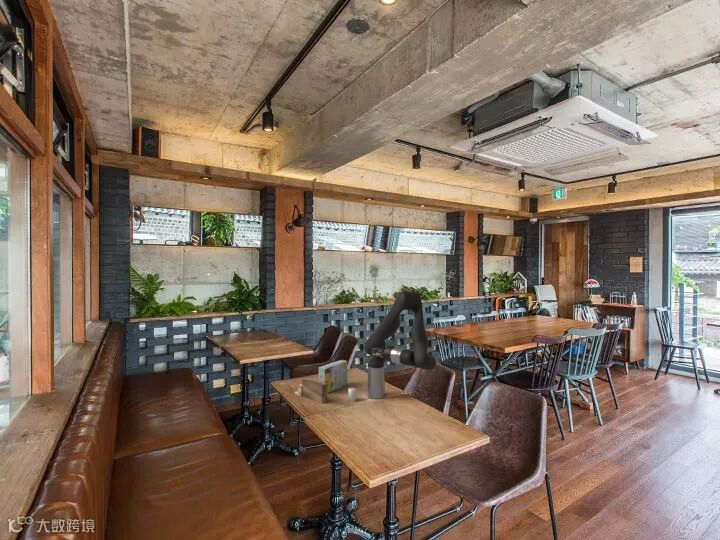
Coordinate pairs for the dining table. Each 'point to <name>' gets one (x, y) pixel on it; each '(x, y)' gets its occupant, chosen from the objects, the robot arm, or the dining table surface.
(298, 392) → the bench stop
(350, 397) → the white rounded piece
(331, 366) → the snack box
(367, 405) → the dining table surface
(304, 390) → the brown rectangular block
